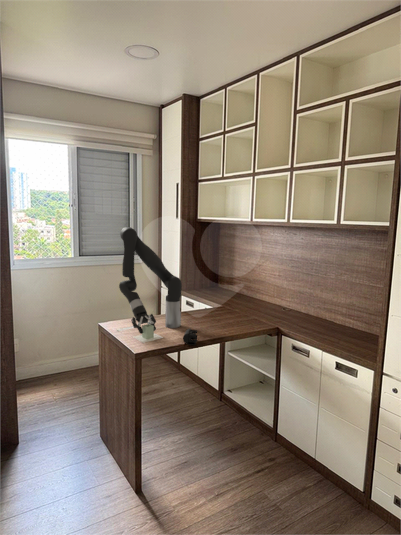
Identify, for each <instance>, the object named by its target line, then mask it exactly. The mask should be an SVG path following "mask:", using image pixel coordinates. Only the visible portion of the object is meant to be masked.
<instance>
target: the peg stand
mask: <svg viewBox="0 0 401 535" xmlns="http://www.w3.org/2000/svg"><path fill="white" fill-rule="evenodd" d="M132 338H133V339H135V340H137V341H139V342H140V343H142V344H144V343H148V342H152V341H156V340H160V339H163V338H164V337H163V336H161V335H159V334H157V333H155V332H154V338H150V339H145V338H143V337H142V334H140V335H135V336H132Z"/></svg>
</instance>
